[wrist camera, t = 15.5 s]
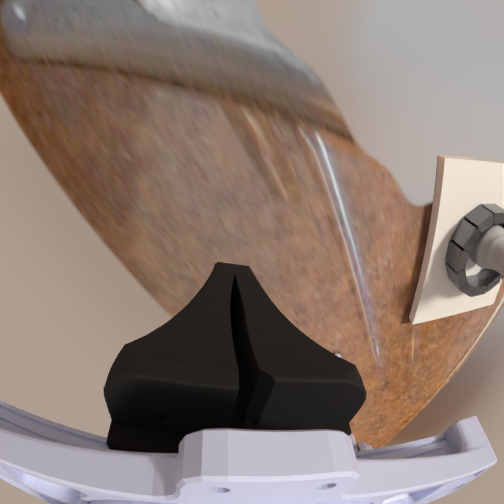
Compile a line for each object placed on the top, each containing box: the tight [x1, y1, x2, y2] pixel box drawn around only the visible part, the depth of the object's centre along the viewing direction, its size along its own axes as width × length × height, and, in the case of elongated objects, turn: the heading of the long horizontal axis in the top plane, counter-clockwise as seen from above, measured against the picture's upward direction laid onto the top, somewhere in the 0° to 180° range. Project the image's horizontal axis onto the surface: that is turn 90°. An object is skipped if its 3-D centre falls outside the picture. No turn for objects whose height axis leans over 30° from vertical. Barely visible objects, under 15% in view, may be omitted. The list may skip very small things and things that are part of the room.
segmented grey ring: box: [445, 204, 504, 297], centre depth 22 cm, size 8×8×2 cm
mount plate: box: [409, 155, 504, 324], centre depth 23 cm, size 16×12×1 cm
